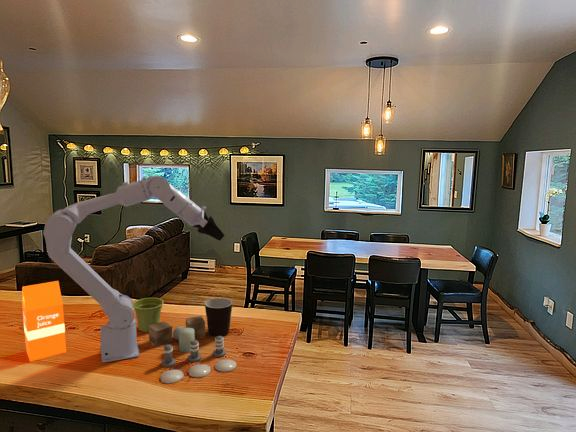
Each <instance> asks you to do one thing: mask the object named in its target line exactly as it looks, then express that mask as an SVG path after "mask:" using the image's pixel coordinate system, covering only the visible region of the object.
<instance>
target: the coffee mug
mask: <svg viewBox="0 0 576 432" xmlns="http://www.w3.org/2000/svg"><path fill="white" fill-rule="evenodd" d="M204 309H205V314H206V315H205V316H206V324H207V331H208V335H209V336H210V337H213V338H216V337H217V336H222V337H226V336H228V335H229V334H230V327H231V320H232V319H231V318H232V311H233V300H232V299H229V298H226V297H216V298H215V297H213V298H210V299H208V300H205V302H204Z"/></svg>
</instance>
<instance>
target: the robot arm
mask: <svg viewBox="0 0 576 432" xmlns="http://www.w3.org/2000/svg"><path fill="white" fill-rule="evenodd" d="M151 198H154V199H158V200H159V201H160V202H161V203H163V205H164V206H165V207H166V208H168V209H169V210H170V212H173V214H175V215H176V216H178V217H179V218H180V219H181V220H183V221H184V222H185V223H187V224H188V225H187V226H189V227H193V228H197V230H196V232H198V233H199V234H204V235H207V236H210V237H212V238H213V239H215V240H218V241H221V240H222V239H223V238H224V237H225V233H224V232H223V231H222V230H221V229H220V228H219V226H218V225H217V223H216V222H215V220H214V218H213V216H209V217H208V215H207V213H206V212H205V210H206V209H207V206H205V205H202V207H200V206H199V205H198V204H196V203H195V202H194V201H193V200H191V199H190V198H189V197H188V196H186V195H185V194H184V193H183V192H182V191H181V190H179V189H177V188H175V187H174V186H173V185H172V184H170V183H169V180H167V179H166V178H164V177H162V176H160V175H149V176H148V177H141V180H137V181H133V182H130V183H129V182H128V181H125V182H122V185H120V186H118V187H117V188H116V191H115V192H113V193H112V192H111V193H108V194H104V195H101V196H98V197H94V198H90V199H86V200H82V201H78V202H75V203H73V204H70V205H68V206H66V207H64V208H63V209H62V208H61V209H58V210H56V211H55V212H53V213H52V214H51V216H50V217H48V219H47V220H46V222H45V224H44V228H43V234H42V235H43V237H44V240H45V245H46V251H47V256H48V257H49V258H50V259H51V260H52V261H53V262H54V263H55V264H56V265H57V266H58V267H59V268H60V269H61V270H63V272H64V273H65V274H67V276H69V277H70V278H71V279H72V280H73V281H74V282H75V283H76V284H77V285H78V286H80V287H81V288H82V289H83V290H84V292H86V293H87V294H88V295H89V296H90V297H91V298H92V299H93V300H94V301H96V302H97V303H98V304H99V307H100V308H101V310H102V312H103V313H104V314H105V315H106V316H107V317H108V321H107V324H104V325H101V326H100V327H99V328H100V334H99V335H100V337H99V338H100V345H99V353H100V355H101V363H109V362H114V361H120V360H126V359H132V358H137V357H140V349H139V344H138V343H139V342H137V341H138V340H137V339H138V337H137V318H135V310H134V307H133V303H134V302H133V299H132V298H131V297H130V296H128V295H125V294H122V293H120V291H118V290H117V289H115V288H113V287H111V285H110V284H108V282H106V281H105V280H104V279H103V278H102V277H101V276H100V275H99V274H98V272H96V271H95V270H94V269H93V268H92V267H91V266H90V265H89V264H88V263H86V262H85V260H84V259H83V258H82V257H81V256H80V255H78V253H77V252H75V251H74V250H73V248H72V247H71V246H72V242H73V241H72V240H73V233H74V231H75V230H76V227H77V225H78V224H81V222H82V221H83V220H85V219H86V217H88V215H91V214H93V213H96V212H98V211H99V212H100V211H102V210H106V209H109V208H112V207H114V206H117V205H121V206H123V207H130V206H133V205H137V204H140V203H143V202H147V201H149V200H151Z"/></svg>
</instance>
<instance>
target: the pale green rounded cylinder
mask: <svg viewBox="0 0 576 432" xmlns="http://www.w3.org/2000/svg"><path fill="white" fill-rule="evenodd" d="M193 340H196V339H195V335H194V329H193V328H186V327H184V328H183V329H181V330H179V340H178V350H179V352H181V353H191V351H190V343H191V341H193Z"/></svg>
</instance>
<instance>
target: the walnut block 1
mask: <svg viewBox="0 0 576 432" xmlns="http://www.w3.org/2000/svg"><path fill="white" fill-rule="evenodd" d="M148 341H149V342H150V343H151V344H153V346H154V347H156V348H158V347H161V346H165V345H168V344H170V343H172V342H173V325H171V324H169V323H168V322H166V321H165V320H164V321H163V320H162V321H159V323H156V324H153V325H149V332H148Z"/></svg>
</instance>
